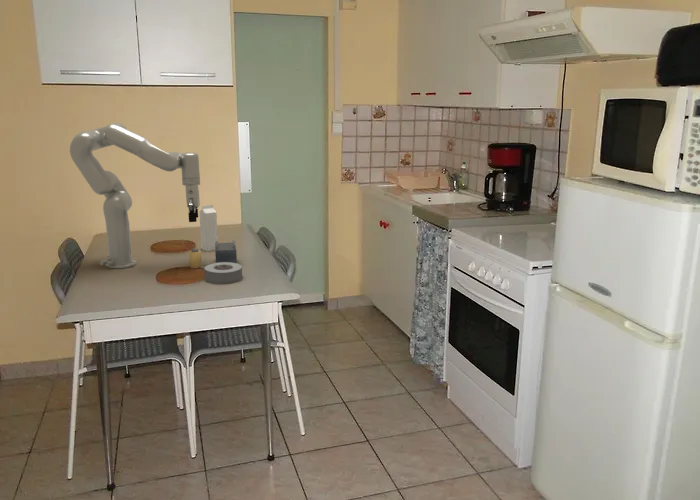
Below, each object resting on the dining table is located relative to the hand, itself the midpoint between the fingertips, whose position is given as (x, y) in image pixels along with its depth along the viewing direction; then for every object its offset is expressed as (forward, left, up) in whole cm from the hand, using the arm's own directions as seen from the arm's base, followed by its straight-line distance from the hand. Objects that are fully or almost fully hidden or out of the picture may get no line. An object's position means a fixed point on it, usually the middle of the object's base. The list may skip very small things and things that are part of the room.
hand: (193, 219), depth 266 cm
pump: (-4, -4, -20) cm, 21 cm away
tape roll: (-11, -26, -21) cm, 35 cm away
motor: (+8, -11, -20) cm, 24 cm away
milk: (+23, +12, -20) cm, 33 cm away
